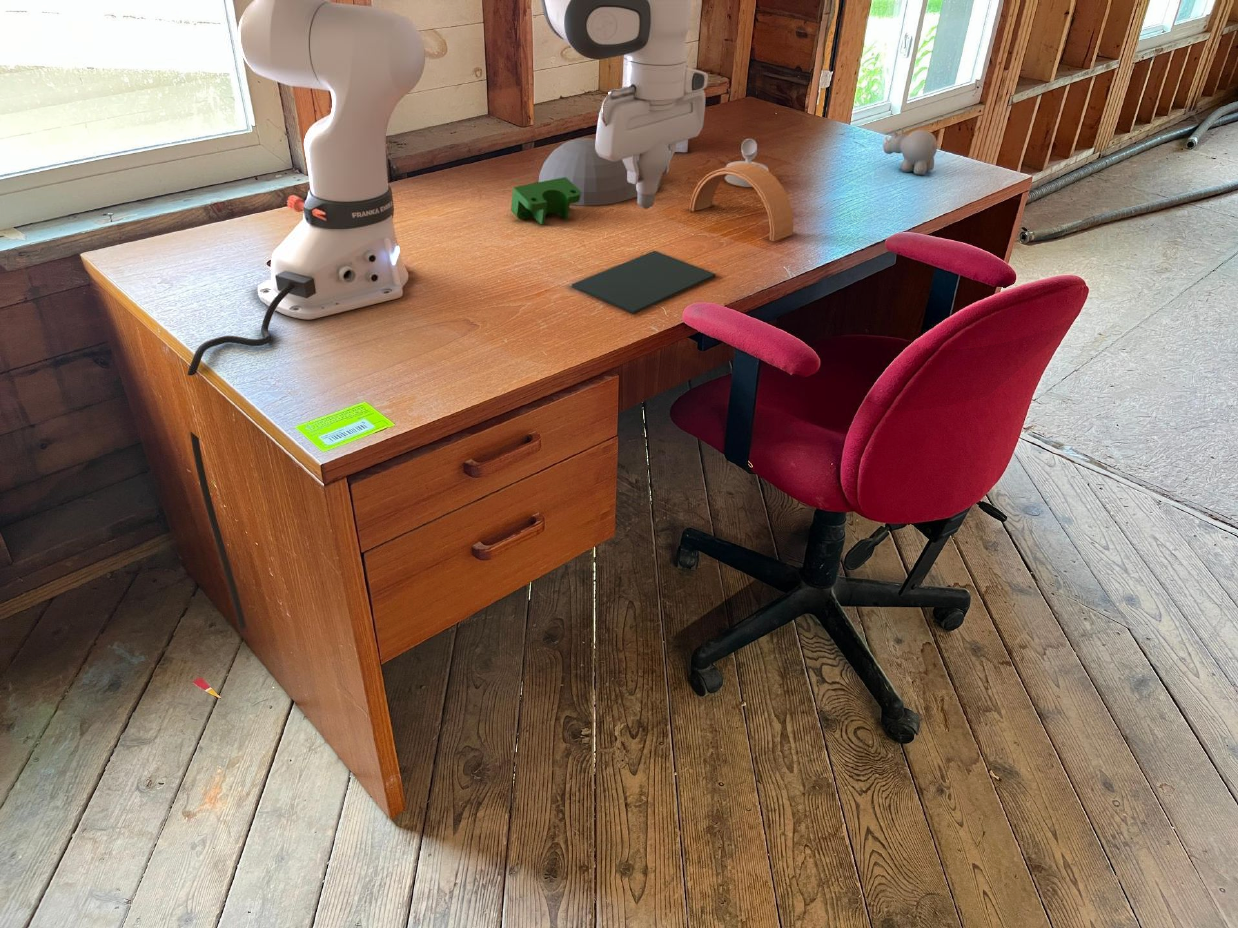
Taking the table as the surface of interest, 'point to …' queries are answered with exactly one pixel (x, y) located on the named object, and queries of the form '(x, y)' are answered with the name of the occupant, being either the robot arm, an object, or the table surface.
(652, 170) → the lightbulb
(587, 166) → the baseball cap
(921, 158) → the chubby cartoon animal
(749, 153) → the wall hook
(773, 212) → the arch
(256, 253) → the table surface
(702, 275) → the dark mat
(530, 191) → the clamp
